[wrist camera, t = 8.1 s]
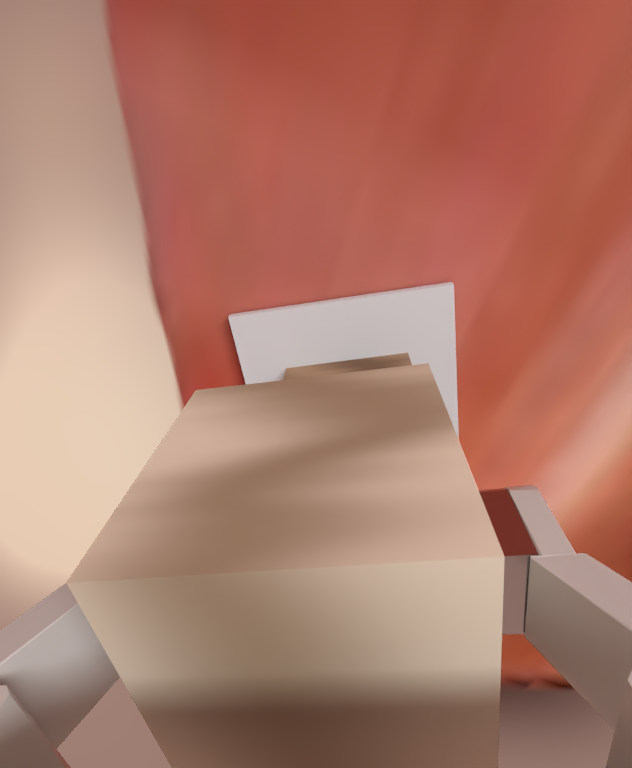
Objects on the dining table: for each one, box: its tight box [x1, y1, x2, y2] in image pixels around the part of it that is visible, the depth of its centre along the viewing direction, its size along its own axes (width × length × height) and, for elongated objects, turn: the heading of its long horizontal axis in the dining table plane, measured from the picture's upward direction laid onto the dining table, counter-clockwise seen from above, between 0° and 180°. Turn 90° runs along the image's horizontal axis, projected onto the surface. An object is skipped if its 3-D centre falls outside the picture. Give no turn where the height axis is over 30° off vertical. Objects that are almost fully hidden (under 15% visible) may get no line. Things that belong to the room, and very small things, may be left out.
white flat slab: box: [228, 282, 459, 439], centre depth 31 cm, size 14×16×1 cm
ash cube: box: [67, 363, 505, 768], centre depth 8 cm, size 5×5×5 cm
